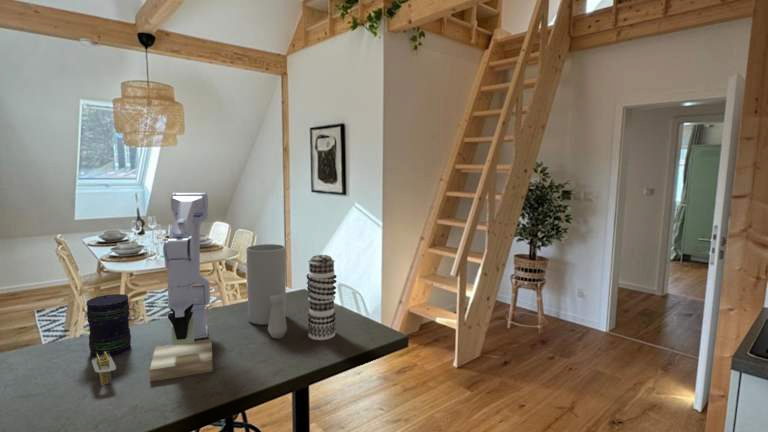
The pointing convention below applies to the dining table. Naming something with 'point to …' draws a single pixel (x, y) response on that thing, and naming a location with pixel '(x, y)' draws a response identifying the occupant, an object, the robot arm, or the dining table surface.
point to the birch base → (181, 360)
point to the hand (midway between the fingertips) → (182, 334)
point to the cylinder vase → (264, 280)
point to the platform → (107, 369)
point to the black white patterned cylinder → (321, 297)
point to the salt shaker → (277, 317)
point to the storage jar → (109, 325)
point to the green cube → (189, 335)
